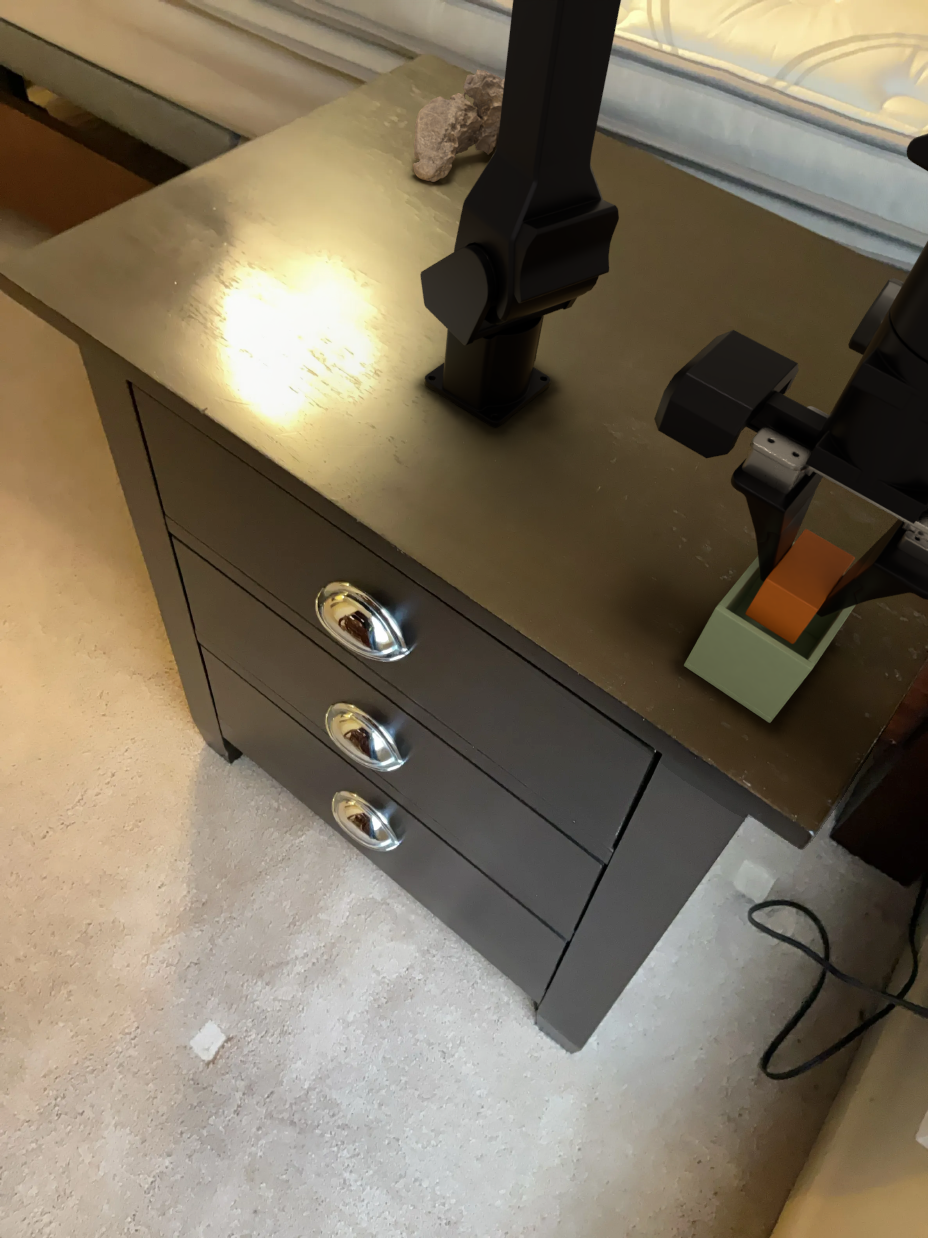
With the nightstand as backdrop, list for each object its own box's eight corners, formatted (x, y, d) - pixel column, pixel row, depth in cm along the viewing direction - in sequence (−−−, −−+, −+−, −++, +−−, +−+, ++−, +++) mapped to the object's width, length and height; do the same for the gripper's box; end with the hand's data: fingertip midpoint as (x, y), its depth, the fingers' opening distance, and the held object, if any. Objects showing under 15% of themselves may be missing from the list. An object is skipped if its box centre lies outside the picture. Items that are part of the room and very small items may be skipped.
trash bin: (769, 723, 46) (812, 669, 42) (683, 665, 48) (715, 608, 43) (824, 643, 49) (868, 585, 45) (742, 591, 51) (777, 531, 47)
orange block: (792, 645, 43) (818, 610, 41) (744, 614, 44) (765, 578, 42) (830, 593, 46) (856, 556, 43) (783, 564, 46) (805, 527, 44)
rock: (397, 152, 77) (400, 65, 71) (540, 136, 82) (553, 52, 76) (421, 186, 74) (426, 98, 68) (568, 168, 79) (584, 83, 73)
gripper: (1275, 353, 33) (1020, 600, 45) (827, 160, 38) (713, 427, 51) (1218, 512, 27) (946, 743, 40) (705, 258, 33) (610, 531, 45)
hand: (794, 593), depth 44 cm, fingers closed on orange block, 3 cm apart
